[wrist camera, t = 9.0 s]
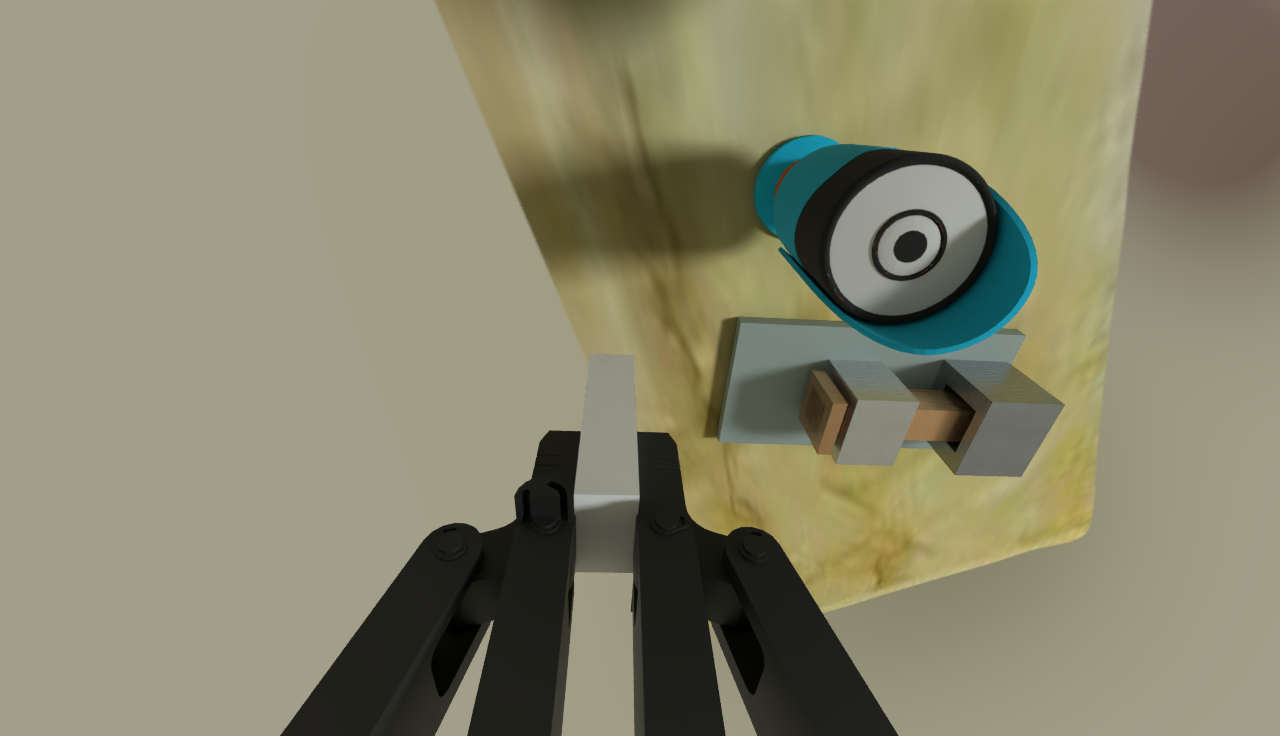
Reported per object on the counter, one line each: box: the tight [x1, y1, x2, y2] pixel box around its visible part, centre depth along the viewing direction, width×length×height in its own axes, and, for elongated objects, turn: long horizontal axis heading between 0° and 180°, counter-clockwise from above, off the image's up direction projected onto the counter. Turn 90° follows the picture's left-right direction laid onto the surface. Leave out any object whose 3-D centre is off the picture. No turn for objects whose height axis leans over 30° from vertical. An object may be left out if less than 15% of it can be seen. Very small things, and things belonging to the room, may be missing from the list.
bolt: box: [798, 370, 976, 455], centre depth 43 cm, size 5×15×5 cm, turn 86°
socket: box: [927, 359, 1065, 477], centre depth 44 cm, size 8×6×7 cm
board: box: [717, 317, 1026, 449], centre depth 47 cm, size 13×26×1 cm, turn 87°
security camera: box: [754, 135, 1038, 355], centre depth 29 cm, size 8×21×10 cm
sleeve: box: [826, 359, 920, 466], centre depth 43 cm, size 7×5×6 cm
